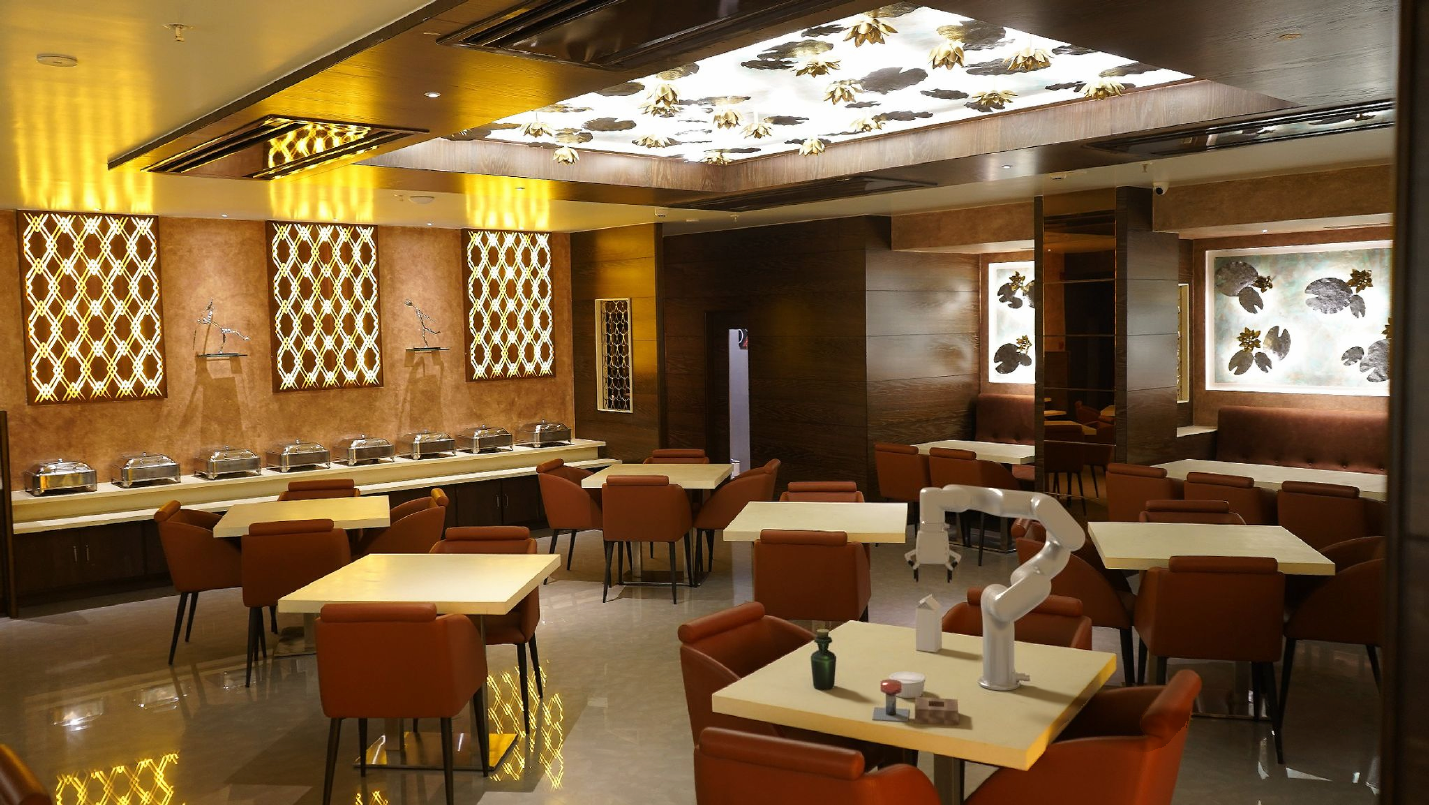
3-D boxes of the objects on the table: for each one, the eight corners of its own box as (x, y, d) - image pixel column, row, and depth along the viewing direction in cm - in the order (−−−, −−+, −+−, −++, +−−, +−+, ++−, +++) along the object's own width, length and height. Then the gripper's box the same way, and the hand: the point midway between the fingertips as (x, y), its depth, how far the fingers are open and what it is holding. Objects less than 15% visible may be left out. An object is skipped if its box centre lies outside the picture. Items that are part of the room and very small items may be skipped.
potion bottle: (816, 681, 329) (816, 626, 329) (840, 685, 326) (839, 629, 325) (806, 689, 322) (806, 632, 321) (830, 692, 318) (830, 635, 318)
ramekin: (899, 701, 309) (898, 684, 309) (882, 690, 320) (882, 673, 320) (932, 697, 313) (932, 680, 312) (914, 686, 323) (914, 669, 323)
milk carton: (942, 648, 364) (941, 595, 363) (935, 653, 358) (934, 599, 357) (922, 645, 368) (922, 593, 367) (915, 650, 362) (915, 597, 361)
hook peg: (881, 709, 301) (881, 678, 301) (901, 711, 300) (901, 680, 300) (880, 716, 295) (880, 685, 295) (901, 718, 294) (901, 686, 294)
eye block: (957, 712, 298) (957, 699, 298) (958, 725, 289) (958, 711, 289) (915, 710, 301) (915, 697, 301) (914, 722, 291) (914, 708, 291)
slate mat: (908, 710, 302) (908, 709, 301) (907, 722, 292) (907, 721, 292) (874, 708, 304) (874, 707, 304) (872, 720, 294) (872, 719, 294)
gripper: (960, 525, 322) (961, 579, 323) (904, 524, 326) (905, 578, 326) (961, 530, 315) (961, 585, 315) (903, 528, 318) (904, 583, 319)
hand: (932, 581), depth 321 cm, fingers open, 9 cm apart
